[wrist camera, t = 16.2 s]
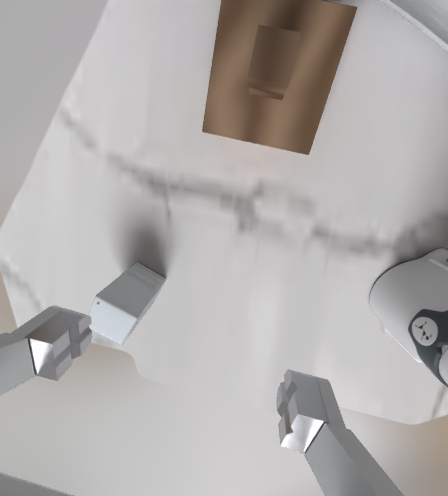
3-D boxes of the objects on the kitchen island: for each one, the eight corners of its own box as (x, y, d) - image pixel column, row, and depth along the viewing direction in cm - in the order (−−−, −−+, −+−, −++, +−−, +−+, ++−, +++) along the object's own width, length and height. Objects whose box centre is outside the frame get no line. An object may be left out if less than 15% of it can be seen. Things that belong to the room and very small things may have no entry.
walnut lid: (354, 12, 22) (385, -37, 17) (307, 154, 28) (319, 152, 22) (224, -11, 23) (215, -65, 18) (203, 132, 28) (191, 124, 23)
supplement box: (125, 285, 47) (81, 325, 35) (137, 260, 44) (94, 294, 32) (154, 302, 48) (121, 347, 36) (168, 279, 45) (137, 318, 33)
